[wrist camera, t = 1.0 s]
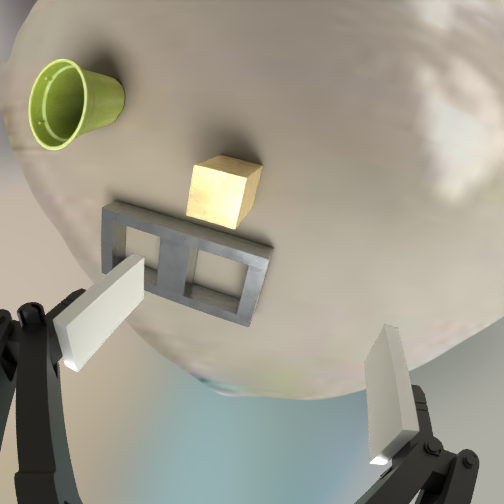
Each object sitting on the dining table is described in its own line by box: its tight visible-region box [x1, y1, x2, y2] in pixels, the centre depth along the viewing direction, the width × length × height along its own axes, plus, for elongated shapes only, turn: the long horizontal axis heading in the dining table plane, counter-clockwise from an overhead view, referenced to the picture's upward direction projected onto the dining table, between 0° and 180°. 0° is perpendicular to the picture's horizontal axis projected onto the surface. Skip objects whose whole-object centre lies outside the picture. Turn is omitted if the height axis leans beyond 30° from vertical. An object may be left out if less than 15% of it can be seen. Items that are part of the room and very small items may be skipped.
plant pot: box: [29, 59, 125, 150], centre depth 27 cm, size 9×9×9 cm
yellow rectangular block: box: [186, 155, 263, 229], centre depth 29 cm, size 4×4×7 cm
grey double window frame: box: [101, 201, 274, 327], centre depth 35 cm, size 9×20×3 cm, turn 76°
